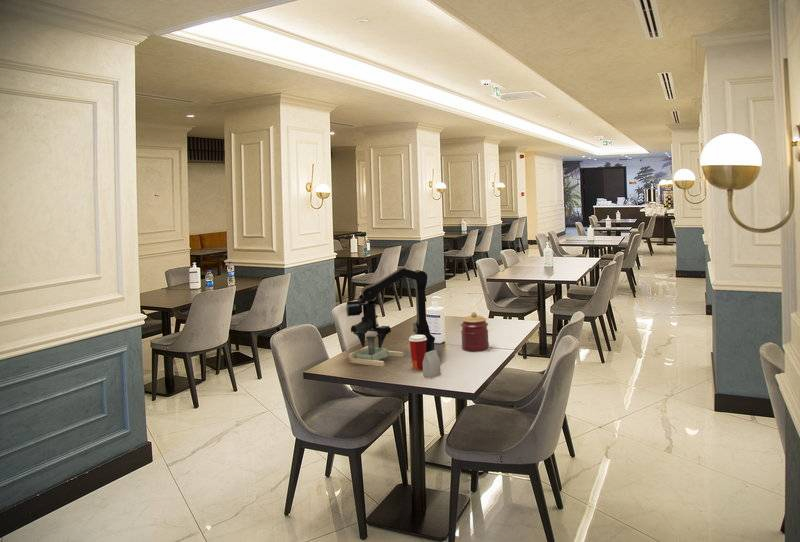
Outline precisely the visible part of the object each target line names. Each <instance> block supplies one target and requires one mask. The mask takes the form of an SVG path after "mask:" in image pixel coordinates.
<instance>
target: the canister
mask: <svg viewBox="0 0 800 542" xmlns="http://www.w3.org/2000/svg"><path fill="white" fill-rule="evenodd" d="M486 320H487V318H485V317H484V316H482V315H479V314H477V312H475V311H474V312H471V315H468V316H465V317H464V318H462V320H461V321H462V323H461V324H460V326H461V331H460V333H461V347H462V348H461V349H462V350H463V351H465V352H483V351H486V350H488V349H489V347H490V341H489V330H488V325H489V323H488V322H487V321H486Z"/></svg>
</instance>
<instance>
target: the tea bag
mask: <svg viewBox="0 0 800 542" xmlns="http://www.w3.org/2000/svg"><path fill="white" fill-rule="evenodd" d="M422 363H423V370H422V377H423V376H424V377H423V378H427V377H429V378H428V379H431V378H434V377H436V375H437V376H439V375H441V371H442V370H441V359H440V357H439V354H438V352H437V349H435V350H433V351H430V352H427V353H425V356H424V359H423V362H422ZM433 376H434V377H433Z"/></svg>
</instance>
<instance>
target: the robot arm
mask: <svg viewBox="0 0 800 542" xmlns="http://www.w3.org/2000/svg"><path fill="white" fill-rule="evenodd" d="M403 278H406V279H411V280H412V282H413V283H412V284H413V287H414V289H415V304H416V306H415V308H416V322H413V323H412V325H413V329H412V332H414V335H425V336H426V338H427V340H426V353H427V352H430V351H433V350H436V349H435V341H436V337H434V335H432V334H431V331H430V326H429V324H428V321H427V310H426V309H427V308H426V307H427V305H426V288H427V285H428V284H427V283H428V273H426V272H425V271H423V270H421V269H416V270H411V269H408V268H404V267H399V268H398V269H397V270H395V271H394V272H392V273H389V274H388V275H387V276H385V277H384V278H382V279H380V280H378V281H377V282H374V283H370V284H368V285H365V286H363V287H362V288H361V291H360V295H359V297H358V298H357V300H352V301H351V300H347V301H346V305H345V306H346V307H345V311H346V317H353V316H355V317H356V316H360V315H361V314H362V313H363V315H362V316H361V321H359V322H358V323H357V324H354V325H351V327H350V332H351V333H353V334H354V335H356V336H357V338H358V339H359V342H360V344H361V346H362V348H364V347H366V346H365V345H366V334H367V333H368V332H375V333H377V334H376V337H377V339H378V348H379V349H380V348H383V343H384V341H385V338H386V336H387V335H389V333H392V331H391V330H392V328H391V327H390V325H381V326H379V324H378V323H377V318H378V315H377V314H376V313H377V311H376V305H377V304H378V305H379V304H380V301H379V300H377V298H376V297H377V296H379V294H380V293H381V292H382V291H383V290H384V289H386V288H388V287H389V286H392V284H395V283H396V282H398V281H399V280H401V279H403Z"/></svg>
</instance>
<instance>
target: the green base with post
mask: <svg viewBox="0 0 800 542" xmlns="http://www.w3.org/2000/svg"><path fill="white" fill-rule="evenodd" d="M375 340H376V336H375V335H368V336H366V341H367V346H368V349H366V350H364V351H361V352H359V353H357V354H356V358H360V359H368V360H377V361H382V360H383V359H384V358H385V359H386V357H389V356H388V351H389V349H388V348H384V347H381V348H380V349H379V347H376V346H375V345H376V344H375Z"/></svg>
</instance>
